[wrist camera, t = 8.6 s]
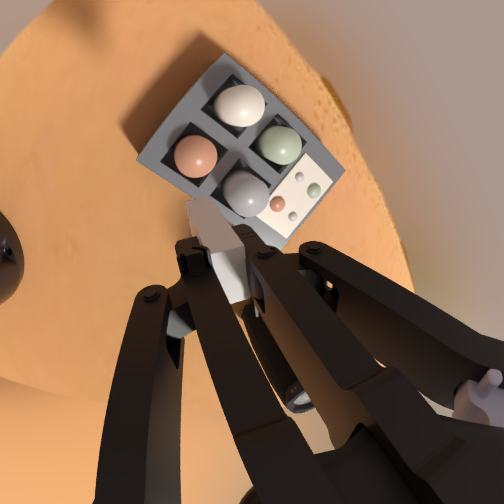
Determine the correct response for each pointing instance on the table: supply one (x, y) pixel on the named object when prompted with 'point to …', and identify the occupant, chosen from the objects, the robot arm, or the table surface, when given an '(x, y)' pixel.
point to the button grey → (245, 193)
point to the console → (244, 155)
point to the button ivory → (239, 106)
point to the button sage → (278, 144)
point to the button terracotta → (194, 155)
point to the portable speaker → (275, 363)
